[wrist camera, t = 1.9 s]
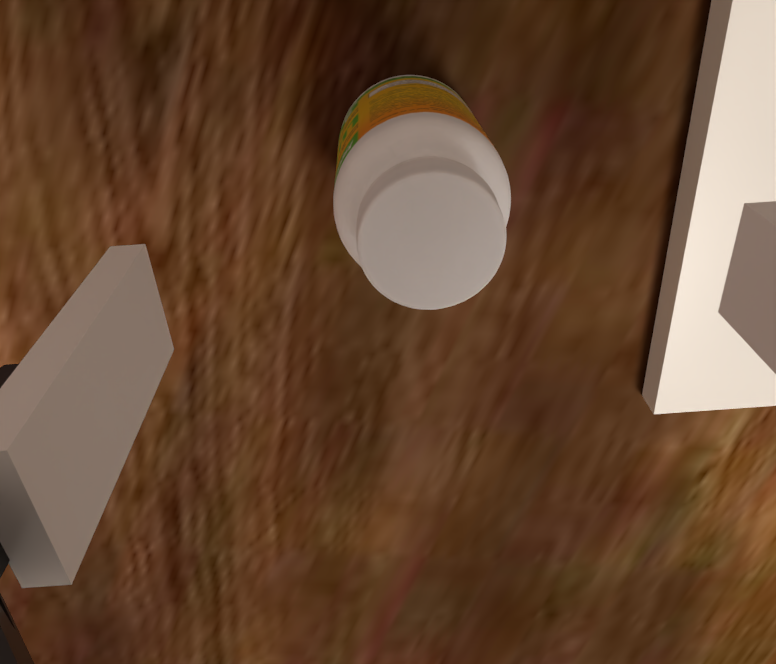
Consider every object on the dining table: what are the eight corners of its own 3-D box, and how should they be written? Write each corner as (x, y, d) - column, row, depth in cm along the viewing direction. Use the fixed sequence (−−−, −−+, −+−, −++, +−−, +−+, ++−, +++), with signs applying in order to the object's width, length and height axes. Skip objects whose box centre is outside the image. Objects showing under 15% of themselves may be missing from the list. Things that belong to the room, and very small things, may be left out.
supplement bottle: (332, 76, 24) (319, 148, 16) (478, 68, 24) (541, 135, 16) (343, 215, 27) (337, 338, 19) (474, 207, 27) (527, 327, 19)
